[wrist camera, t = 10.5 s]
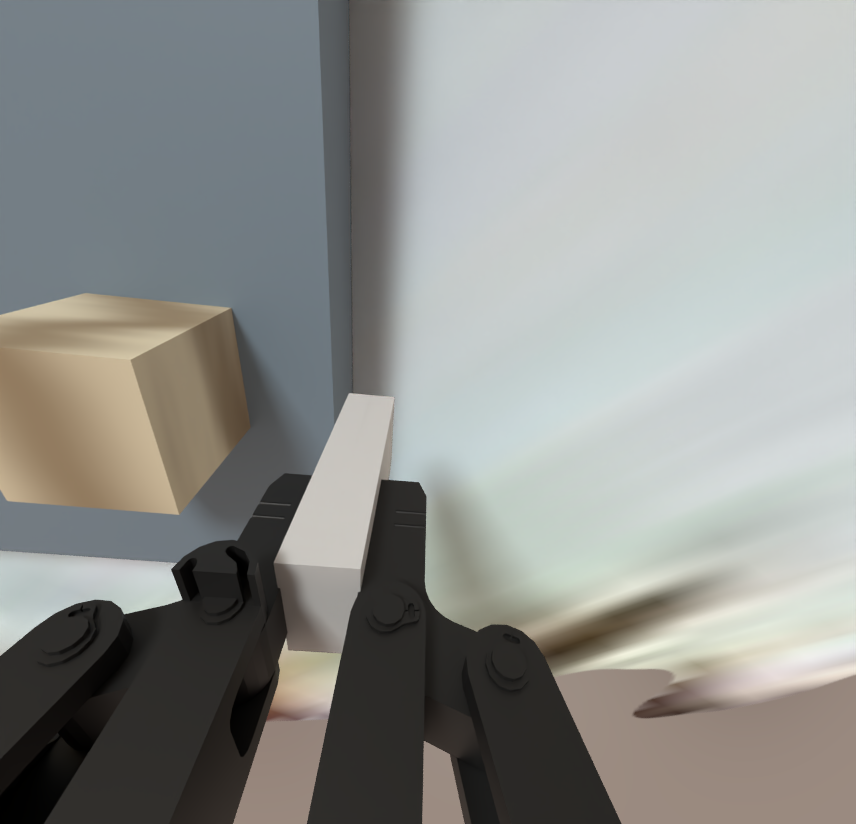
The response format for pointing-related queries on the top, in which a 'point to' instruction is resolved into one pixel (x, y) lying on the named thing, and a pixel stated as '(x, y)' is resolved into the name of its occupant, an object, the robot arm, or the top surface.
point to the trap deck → (186, 218)
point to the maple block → (117, 402)
